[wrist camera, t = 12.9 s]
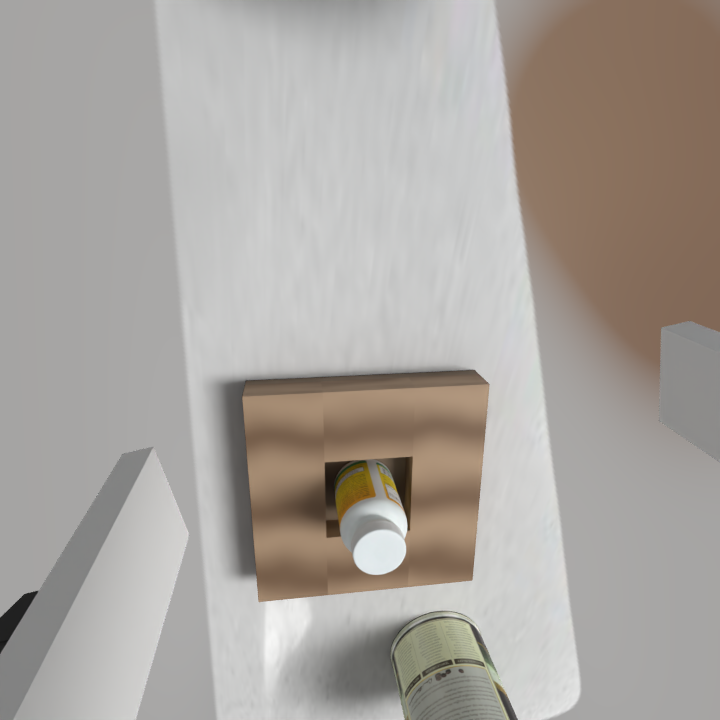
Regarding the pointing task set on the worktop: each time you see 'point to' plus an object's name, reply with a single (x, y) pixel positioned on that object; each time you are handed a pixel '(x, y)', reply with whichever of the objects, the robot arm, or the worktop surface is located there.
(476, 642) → the coffee can
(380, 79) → the worktop surface
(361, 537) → the supplement bottle
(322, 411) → the socket block
